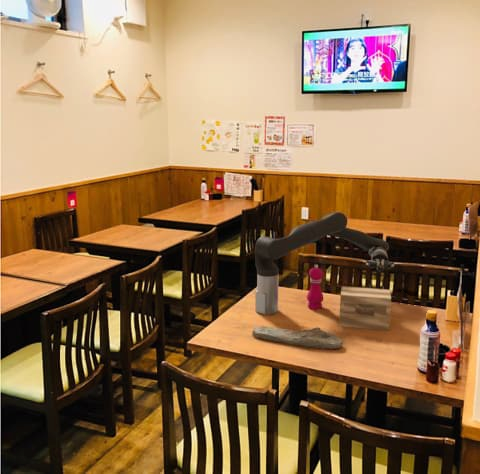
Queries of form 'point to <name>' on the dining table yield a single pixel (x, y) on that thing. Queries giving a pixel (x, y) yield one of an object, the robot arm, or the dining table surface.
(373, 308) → the wooden crate
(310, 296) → the pepper mill
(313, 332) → the long grey stone
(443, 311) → the dining table surface
